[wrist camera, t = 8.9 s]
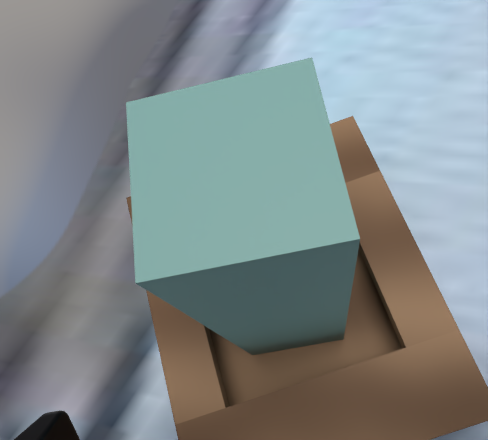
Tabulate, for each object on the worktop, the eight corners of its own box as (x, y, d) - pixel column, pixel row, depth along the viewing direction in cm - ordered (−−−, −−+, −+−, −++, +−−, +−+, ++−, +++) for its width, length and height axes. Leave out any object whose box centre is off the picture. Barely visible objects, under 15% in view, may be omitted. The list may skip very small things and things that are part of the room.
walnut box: (476, 414, 18) (501, 416, 15) (215, 499, 19) (194, 515, 16) (350, 150, 23) (352, 116, 21) (150, 221, 24) (126, 197, 21)
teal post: (343, 339, 20) (360, 238, 8) (252, 355, 20) (135, 283, 8) (323, 252, 21) (312, 57, 9) (239, 268, 22) (126, 102, 10)
